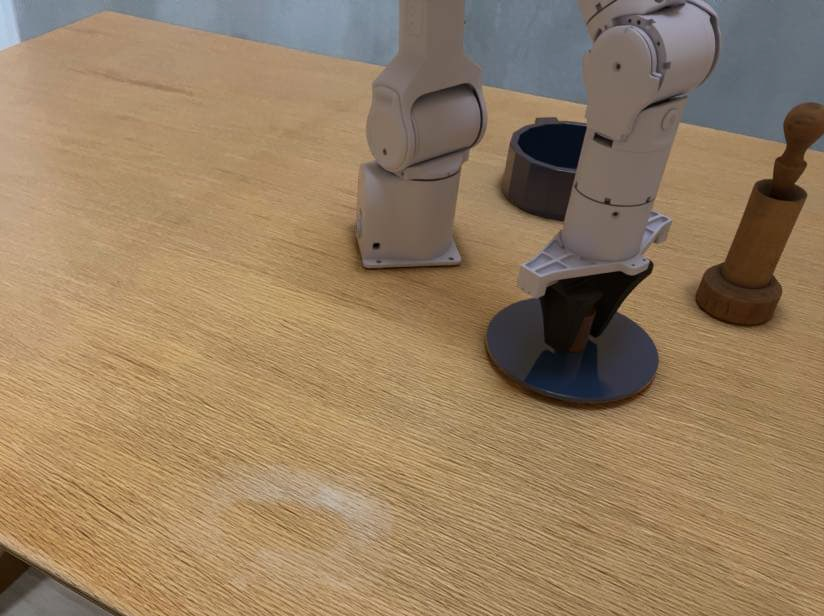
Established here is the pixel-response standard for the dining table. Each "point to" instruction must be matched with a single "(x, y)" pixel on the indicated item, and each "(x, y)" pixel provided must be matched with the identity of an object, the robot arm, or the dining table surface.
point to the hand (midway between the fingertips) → (572, 338)
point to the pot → (543, 166)
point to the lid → (572, 356)
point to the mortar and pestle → (763, 230)
